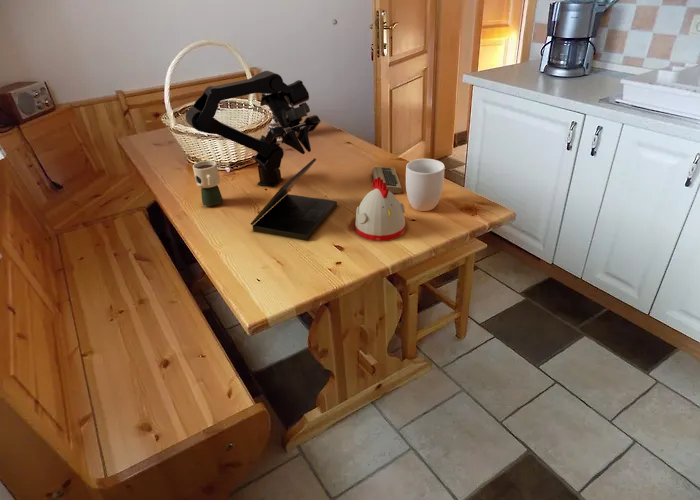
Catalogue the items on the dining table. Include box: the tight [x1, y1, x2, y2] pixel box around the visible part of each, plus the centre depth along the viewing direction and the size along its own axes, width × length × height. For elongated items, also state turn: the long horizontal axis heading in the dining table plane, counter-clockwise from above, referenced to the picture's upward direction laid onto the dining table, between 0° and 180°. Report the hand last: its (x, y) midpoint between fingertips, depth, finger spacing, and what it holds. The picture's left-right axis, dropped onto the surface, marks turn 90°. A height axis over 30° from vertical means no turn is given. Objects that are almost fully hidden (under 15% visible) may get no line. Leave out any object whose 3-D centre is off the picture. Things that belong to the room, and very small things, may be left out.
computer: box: [371, 166, 403, 194], centre depth 155 cm, size 16×8×3 cm, turn 3°
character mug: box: [192, 159, 224, 207], centre depth 145 cm, size 11×7×13 cm, turn 25°
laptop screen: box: [250, 157, 317, 226], centre depth 135 cm, size 17×21×1 cm
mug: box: [405, 158, 446, 212], centre depth 140 cm, size 15×11×13 cm
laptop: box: [251, 193, 338, 242], centre depth 138 cm, size 17×21×2 cm
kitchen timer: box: [354, 177, 406, 242], centre depth 128 cm, size 14×14×15 cm
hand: (307, 152), depth 148 cm, fingers closed
